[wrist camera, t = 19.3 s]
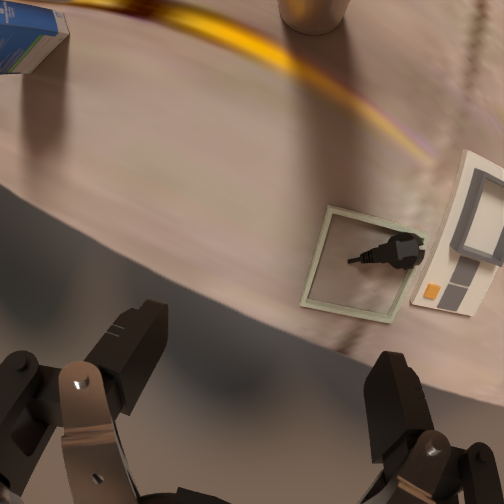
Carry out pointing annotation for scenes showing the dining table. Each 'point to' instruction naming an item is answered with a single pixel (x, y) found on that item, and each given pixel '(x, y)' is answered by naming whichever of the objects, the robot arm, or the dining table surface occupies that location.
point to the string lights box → (28, 36)
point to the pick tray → (317, 253)
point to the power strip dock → (466, 240)
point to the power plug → (396, 252)
